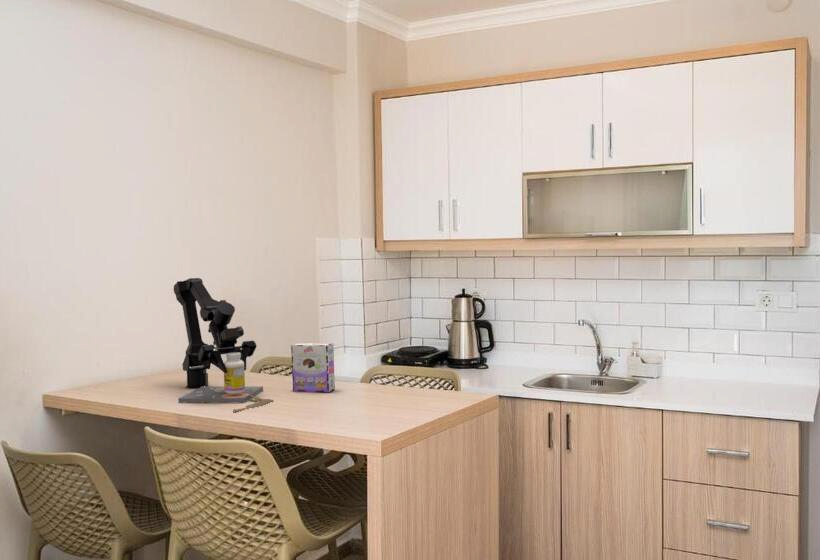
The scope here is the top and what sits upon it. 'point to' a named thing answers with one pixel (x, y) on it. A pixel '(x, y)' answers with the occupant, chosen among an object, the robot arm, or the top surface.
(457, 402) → the top surface
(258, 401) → the brown flat branched piece
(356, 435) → the top surface
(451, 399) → the top surface
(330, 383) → the candy box
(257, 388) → the dial board
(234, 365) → the supplement bottle
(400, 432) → the top surface
